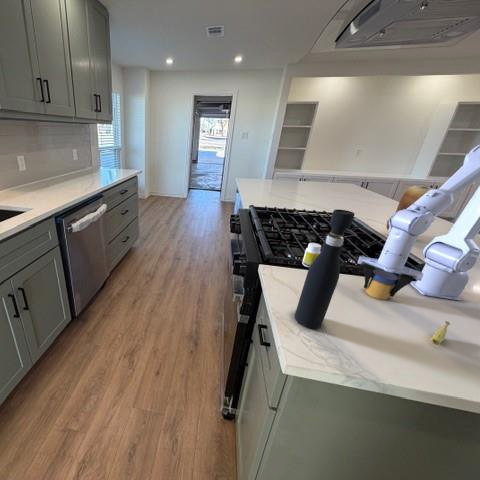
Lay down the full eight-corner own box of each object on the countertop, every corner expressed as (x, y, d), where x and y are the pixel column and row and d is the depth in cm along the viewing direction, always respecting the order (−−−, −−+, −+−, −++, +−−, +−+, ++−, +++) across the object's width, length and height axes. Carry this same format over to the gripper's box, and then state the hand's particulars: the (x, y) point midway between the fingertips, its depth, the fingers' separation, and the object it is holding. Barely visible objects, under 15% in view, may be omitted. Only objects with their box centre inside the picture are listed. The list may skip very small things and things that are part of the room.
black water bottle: (289, 312, 69) (320, 207, 57) (311, 312, 70) (346, 207, 58) (303, 329, 64) (341, 216, 52) (327, 328, 64) (370, 216, 52)
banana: (436, 331, 64) (443, 319, 63) (445, 336, 63) (453, 323, 61) (426, 344, 60) (434, 332, 58) (436, 350, 59) (445, 336, 57)
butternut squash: (411, 245, 115) (437, 191, 105) (377, 235, 126) (397, 184, 115) (423, 240, 121) (449, 188, 111) (390, 230, 132) (410, 182, 122)
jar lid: (365, 273, 79) (367, 269, 79) (384, 274, 79) (386, 269, 79) (381, 284, 74) (383, 279, 73) (401, 285, 74) (404, 280, 73)
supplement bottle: (318, 269, 92) (324, 248, 89) (304, 267, 93) (310, 246, 90) (313, 262, 97) (319, 243, 93) (300, 261, 97) (305, 241, 94)
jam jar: (382, 291, 80) (390, 273, 78) (391, 301, 76) (400, 283, 73) (362, 288, 82) (369, 271, 79) (370, 297, 77) (378, 279, 74)
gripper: (363, 248, 74) (348, 286, 80) (432, 265, 66) (409, 307, 71) (365, 241, 79) (351, 278, 85) (429, 256, 71) (408, 296, 76)
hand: (377, 290), depth 78 cm, fingers closed on jar lid, 6 cm apart
